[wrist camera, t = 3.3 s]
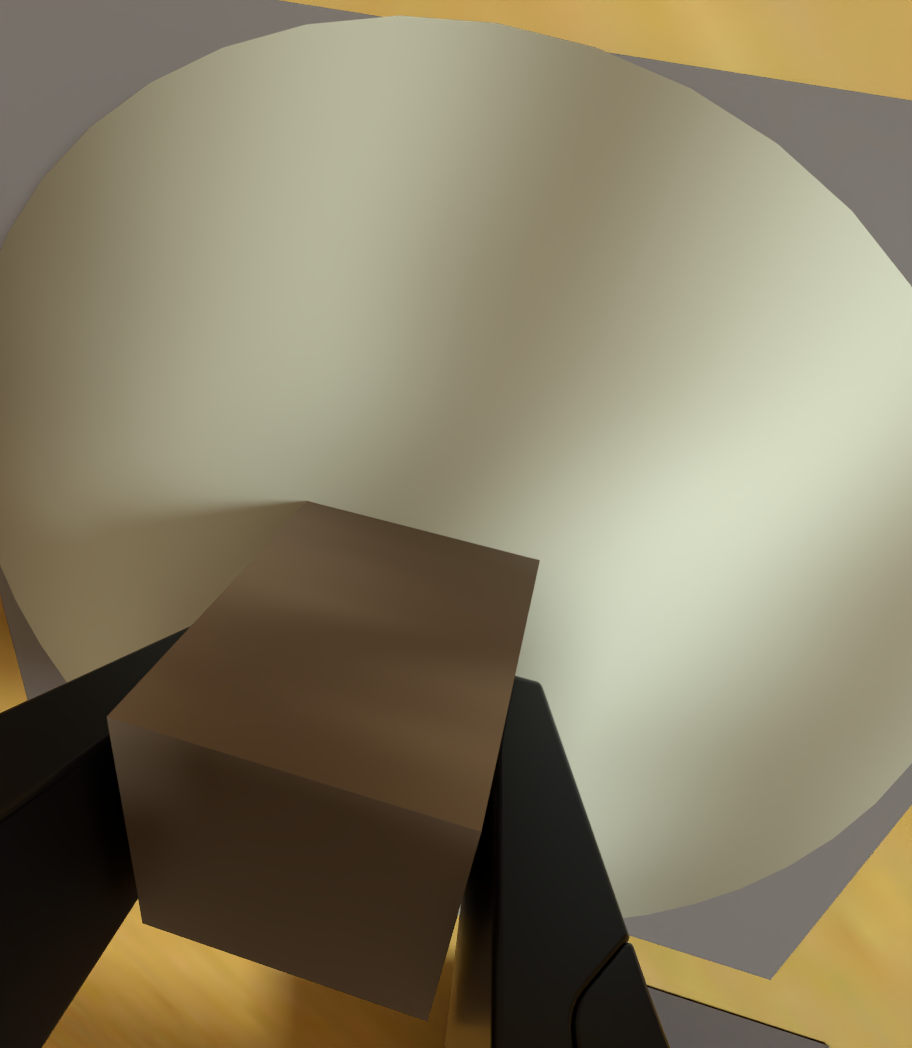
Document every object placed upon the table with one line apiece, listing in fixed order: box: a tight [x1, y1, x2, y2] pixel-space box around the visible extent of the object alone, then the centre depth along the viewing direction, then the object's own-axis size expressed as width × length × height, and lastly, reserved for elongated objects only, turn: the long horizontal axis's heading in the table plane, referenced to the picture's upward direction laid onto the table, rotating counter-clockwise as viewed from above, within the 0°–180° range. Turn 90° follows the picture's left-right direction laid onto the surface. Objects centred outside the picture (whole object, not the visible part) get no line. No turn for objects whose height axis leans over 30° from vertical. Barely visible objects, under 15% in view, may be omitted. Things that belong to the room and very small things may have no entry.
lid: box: [0, 16, 912, 1021], centre depth 8 cm, size 14×14×5 cm
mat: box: [0, 0, 912, 980], centre depth 10 cm, size 16×14×1 cm
